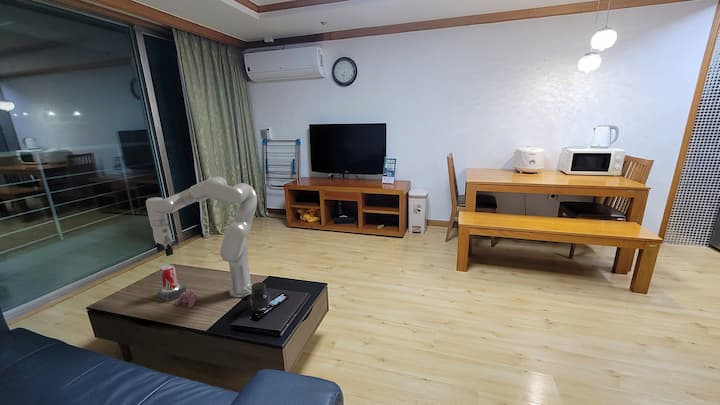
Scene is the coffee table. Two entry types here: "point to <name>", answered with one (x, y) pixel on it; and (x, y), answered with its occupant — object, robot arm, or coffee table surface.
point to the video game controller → (186, 296)
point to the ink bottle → (259, 296)
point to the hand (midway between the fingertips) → (165, 253)
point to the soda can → (169, 277)
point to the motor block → (171, 292)
